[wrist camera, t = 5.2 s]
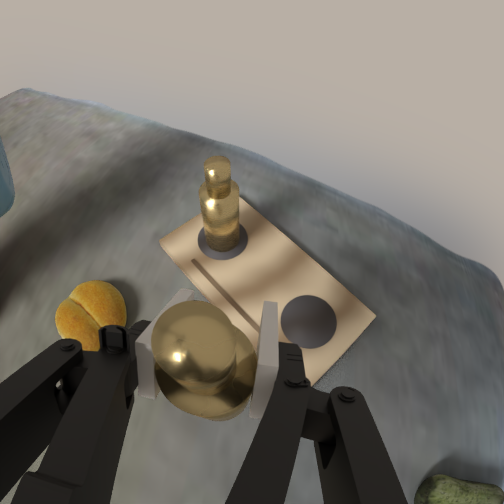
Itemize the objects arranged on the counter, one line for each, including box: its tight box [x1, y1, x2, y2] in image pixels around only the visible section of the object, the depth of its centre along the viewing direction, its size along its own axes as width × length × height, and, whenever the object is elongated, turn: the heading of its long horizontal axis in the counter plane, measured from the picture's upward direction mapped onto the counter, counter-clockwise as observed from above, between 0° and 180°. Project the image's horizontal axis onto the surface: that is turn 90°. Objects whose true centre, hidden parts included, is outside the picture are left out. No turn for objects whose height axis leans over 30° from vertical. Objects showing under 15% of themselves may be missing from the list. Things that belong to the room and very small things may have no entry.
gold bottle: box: [199, 156, 239, 252], centre depth 32 cm, size 4×4×12 cm
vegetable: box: [414, 474, 504, 504], centre depth 18 cm, size 14×5×5 cm, turn 62°
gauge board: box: [159, 197, 376, 386], centre depth 35 cm, size 24×12×1 cm, turn 42°
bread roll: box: [55, 280, 127, 351], centre depth 30 cm, size 8×9×4 cm
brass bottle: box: [151, 300, 258, 421], centre depth 13 cm, size 4×4×12 cm
